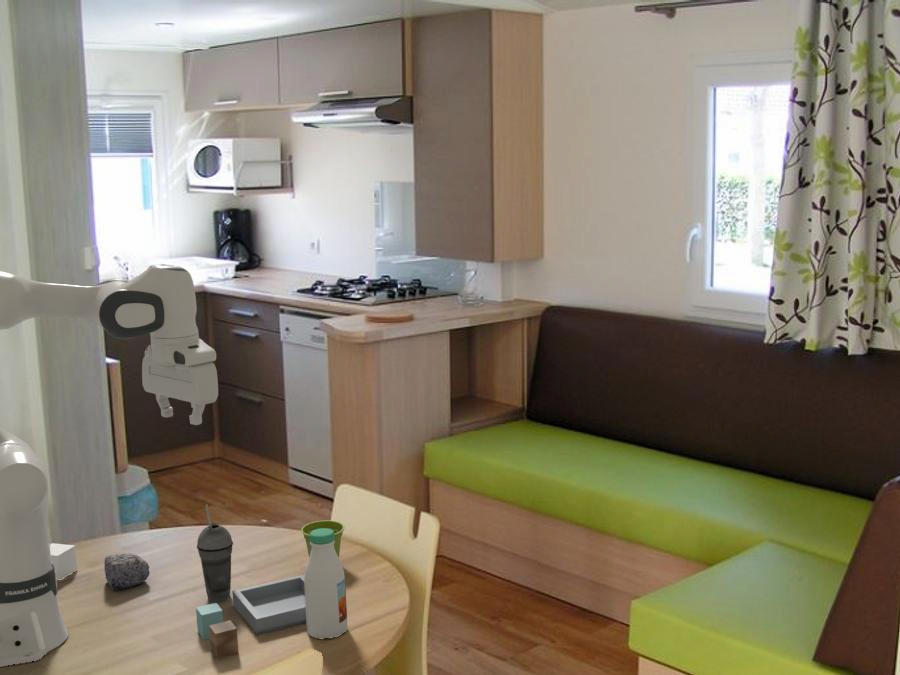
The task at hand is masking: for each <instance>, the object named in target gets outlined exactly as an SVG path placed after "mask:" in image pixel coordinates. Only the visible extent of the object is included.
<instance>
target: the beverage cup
mask: <svg viewBox="0 0 900 675" xmlns="http://www.w3.org/2000/svg"><path fill="white" fill-rule="evenodd" d="M204 506H205V511H206V516H207V523H208V526H206V527H204V528H203V529H202V531H201V532H200V534H199V535H198V538H197V544H196V549H197V552H198V555H199V557H200V562H201V568H202V574H203V580H204V586H205V591H206V592H205V593H206V595H207V601H209V602H211V603H221V602H225V601H228V600H229V599H230V598H231V589H232V588H231V583H232V581H231V580H232V579H231V578H232V553H233V545H234V542H233V539H232V535H231V533H230V531H229V530H228V529H227V528H226V527H224V526H222V525H221V524H212V521H211V515H210V510H209V506H208V504H205V505H204Z"/></svg>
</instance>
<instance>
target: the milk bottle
mask: <svg viewBox="0 0 900 675" xmlns="http://www.w3.org/2000/svg"><path fill="white" fill-rule="evenodd" d="M334 539H335V535H334V531H333V530H331V529H327V528H321V529H316V530H313V531H312V532H311V533H310V544H311V545H312V549H311V554H310V557H309V556H308V559H307V563H306V565H305V568H304V573H303V575H304V587H305V606H306V623H305V624H306V631H307V633H308V635H309V636H310V637H311V636H312V637H311V638H313V637H315V638H314V639H317V638H330V637H335V636H338V635H340V634H342V633H344V632H345V631H346V632H347V629H348V608H347V592H346V591H347V590H346V589H347V588H346V578H345V571H344V566H343V563H342V562H341V561H342V560H341V559H340V557H339V558H338V556H337V554H336V551H335V549H334V543H335V540H334ZM346 632H345V633H346ZM345 633H344V634H345Z"/></svg>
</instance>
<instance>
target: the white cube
mask: <svg viewBox="0 0 900 675" xmlns="http://www.w3.org/2000/svg"><path fill="white" fill-rule="evenodd" d="M49 544H50V553H51V562H52V564H53V566H54V568H55V571H56V578H57V579H62V578H63V577H65V576H67V575H68V574H70V573H72V572H73V571H75V570H77V569H78V561H77V550H76V545H75V544H74V545H73V544H63V543H53V542H52V543H49Z"/></svg>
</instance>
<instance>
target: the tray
mask: <svg viewBox="0 0 900 675" xmlns="http://www.w3.org/2000/svg"><path fill="white" fill-rule="evenodd" d="M231 592H232V603H233V604H232V605H233V607H234V608H235V609H236V611H237V612H238V613H239V615H240V616H241V617H243V619H244V620H245V622H246V623H247V624H248V625H249V626H250V628H251V629H252V630H253V631H254V633H255V634H256V636H258V635H263V634H267V633H271V632H275V631H279V630H282V629H287V628H289V627H294V626H298V625H303V624H307V623H306V606H305V587H304V574H300V575H296V576H290V577H287V578H283V579H278V580H274V581H269V582H265V583H261V584H256V585H255V584H254V585H251V586H248V587H247V586H246V587H243V588H239V589H234V590H232V591H231Z"/></svg>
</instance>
